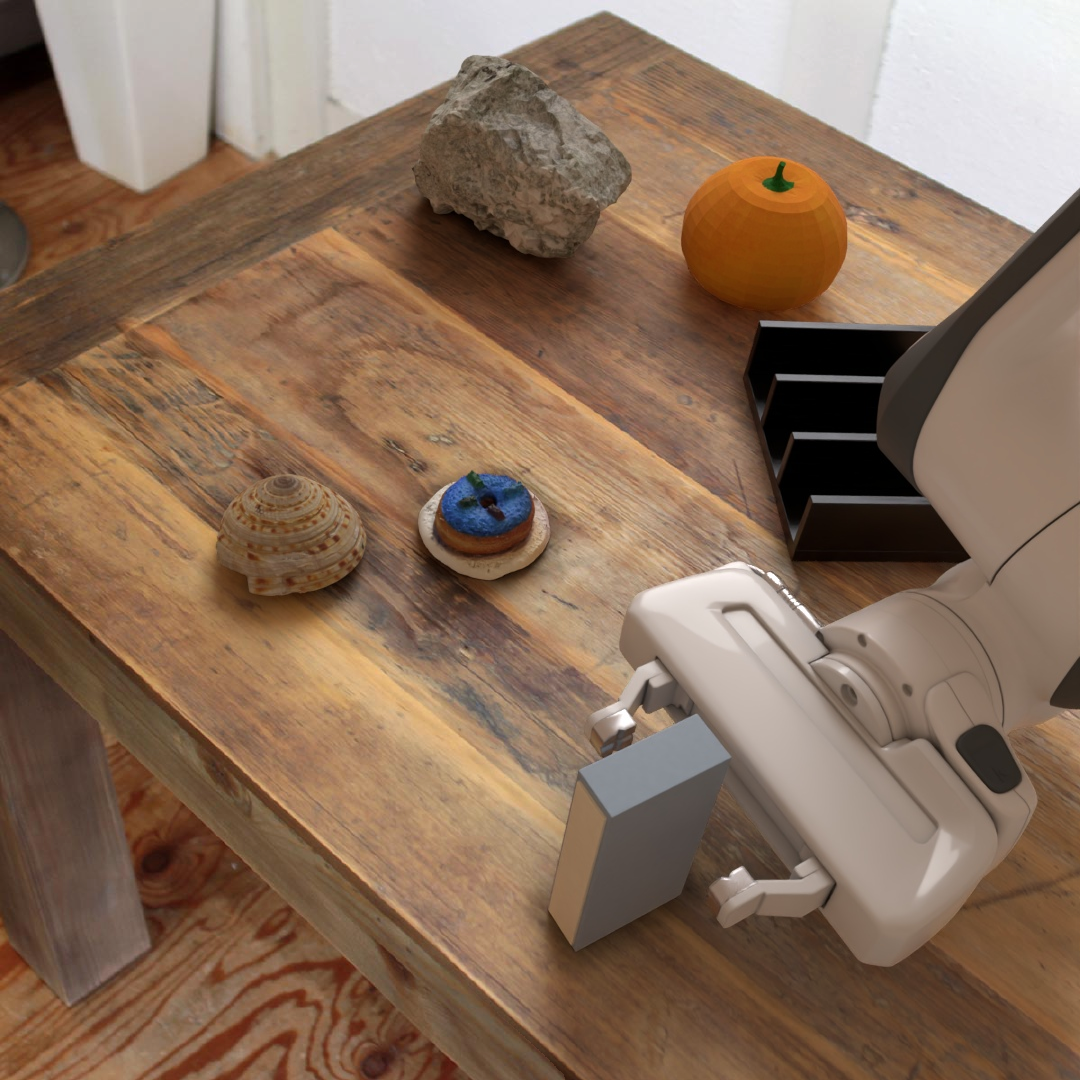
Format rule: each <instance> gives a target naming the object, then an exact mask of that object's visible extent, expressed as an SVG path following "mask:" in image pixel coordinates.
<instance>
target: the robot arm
mask: <svg viewBox="0 0 1080 1080" xmlns="http://www.w3.org/2000/svg"><path fill="white" fill-rule="evenodd" d="M935 326H936V327H935V328H933V329H932V330H931V331H929V332H928V333H927V334H925V335H924V336H923V337H921V338H920V339H919V340H918V341H917V342H916V343H915V344H914V345H912V346H911V347H910V348H909V349H908V350H907V351H906V352H905V353H904V354H903V355H902V356H901V357H900V358H899V359H898V360H897V361H896V362H895V363H894V365H893V366H892V367H891V368H890V369H889V371H888V372H887V374H886V376H885V378H884V382H883V385H882V389H881V394H880V399H879V405H878V415H877V444H878V447H879V449H880V450H881V451H882V452H883V453H884V454H885V456H886V457H887V458H888V459H889V460H890V461H891V462H892V463H893V465H894V466H895V467H896V468H897V469H898V470H899V471H900V472H901V473H902V475H903V476H904V477H905V478H906V479H907V480H908V481H909V482H910V483H911V485H912V486H913V487H914V488H915V489H916V490H917V491H918V492H919V493H920V494H921V495H922V496H924V497H926V499H927V500H928V501H929V502H930V504H931V505H932V506H933V508H934V509H935V510H936V512H937V513H938V514H939V516H940V517H941V518H942V520H943V521H944V522H945V524H946V525H947V526H948V528H949V529H950V530H951V532H952V533H953V534H954V536H955V537H956V538H957V540H958V541H959V542H960V544H961V545H962V546H963V547H964V549H965V550H966V551H967V553H968V554H969V555H970V557H971V559H969V560H966V561H964V562H962V563H957V564H955V565H954V566H952V567H950V568H949V569H947V570H946V571H945V572H944V573H942V574H941V575H940V576H939V577H938V578H937V579H936V580H935V581H934V583H932V584H931V585H929V586H927V587H918V588H909V589H904V590H901V591H898V592H896V593H893V594H891V595H889V596H887V597H884V598H883V599H882V598H881V599H880V600H878V601H876V602H873V603H872V604H869V605H867V606H865V607H863V608H861V609H859V610H857V611H855V612H852V613H849V614H848V615H846V616H843V617H842V618H839V619H837V620H835V621H833V622H830V623H829V624H827V625H824V624H823V623H822V621H821V620H820V619H819V618H818V616H816V614H815V613H814V612H812V610H811V609H810V608H808V607H807V605H805V603H803V602H802V601H801V600H800V599H799V598H797V597H796V595H795V594H794V593H793V592H792V591H791V590H790V586H788V584H787V583H786V582H785V580H784V579H783V578H782V577H781V576H780V575H778V574H777V573H776V572H774V571H772V570H768V571H764V570H763V569H762V568H759V567H757V566H755V565H753V564H748V563H746V562H744V561H743V560H736V561H731V562H728V563H726V564H723V565H721V566H718V567H716V568H714V569H712V570H709V571H704V572H700V573H695V574H692V575H688V576H684V577H681V578H677V579H674V580H671V581H667V582H665V583H664V582H663V583H661V584H657V585H655V586H652V587H649V588H647V589H644V590H642V591H640V592H638V593H636V595H635V596H633V597H632V599H631V601H630V602H629V604H628V606H627V608H626V611H625V614H624V617H623V621H622V625H621V631H620V636H619V640H618V641H619V642H618V649H619V652H620V654H621V655H622V657H623V658H624V660H625V661H626V662H627V663H628V664H629V666H630V668H632V669H633V671H634V672H633V674H632V676H631V678H630V679H629V681H628V682H627V684H626V686H625V688H624V689H623V690H622V692H621V693H620V695H619V697H618V699H617V701H616V702H614V703H612V704H609V705H607V706H605V707H603V708H601V709H598V710H597V711H594V712H593V713H592V714H591V715H589V716H588V717H587V718H586V720H585V725H584V729H583V735H584V736H585V738H586V739H587V741H588V742H589V743H590V744H591V746H592V748H594V750H595V751H596V753H597V754H598V756H599V757H600V758H601V759H603V758H605V757H607V756H609V755H611V754H613V753H614V752H617V751H620V750H622V749H624V748H626V747H628V746H630V745H632V744H633V740H634V735H633V734H634V733H635V732H636V730H637V729H636V728H637V722H636V721H635V720H634V718H633V717H634V715H635V714H636V712H638V709H639V708H640V706H641V709H642V710H643V712H644V713H645V714H648V715H650V714H652V713H655V712H657V711H659V710H661V709H663V710H664V711H665V712H666V713H667V715H668V716H669V718H670V719H671V720H672V722H673V723H674V724H676V723H678V722H680V721H682V720H684V719H686V718H688V717H691V716H693V715H695V714H698V715H699V716H700V718H701V719H702V720H703V721H704V723H705V724H706V725H707V727H708V728H709V729H710V730H711V732H712V733H713V734H714V735H715V737H716V738H717V739H718V740H719V742H720V743H721V744H722V746H723V747H724V748H725V749H726V751H727V752H728V753H729V754H730V756H731V757H732V759H731V762H730V764H729V767H728V770H727V772H726V775H725V778H724V780H723V783H722V786H723V787H724V789H725V790H726V791H727V793H728V794H729V795H730V796H731V798H732V799H733V800H734V802H735V803H736V804H737V805H738V807H739V808H740V809H741V811H742V812H743V813H744V815H745V816H746V817H747V818H748V820H749V821H750V822H751V823H752V825H753V826H754V828H755V829H756V831H758V832H759V834H760V835H761V836H762V838H763V839H764V841H765V842H766V843H767V844H768V846H769V847H770V848H771V850H773V852H774V854H776V856H777V858H778V859H779V861H781V863H783V865H784V867H786V869H787V870H788V871H789V873H790V876H789V878H788V879H755V878H754V877H753V876H752V875H751V874H750V872H749V871H748V870H747V869H746V867H745V866H744V865H741V866H739V867H738V868H736V869H733V870H732V871H730V872H729V875H728V876H720V877H719V878H717V879H716V880H714V881H713V882H712V883H711V884H710V885H709V886H708V887H707V889H706V893H707V894H706V895H704V897H703V901H704V902H705V904H706V905H707V907H708V908H709V910H710V911H711V912H712V914H713V915H714V917H715V919H716V920H717V921H718V923H719V925H720V926H721V927H722V928H723V929H728V928H730V927H732V926H734V925H735V924H738V923H739V922H741V921H743V920H744V919H747V918H749V917H750V916H751V915H754V914H756V916H766V917H767V916H768V917H783V918H803V917H805V916H806V915H808V914H810V913H811V912H813V911H815V910H817V909H818V911H819V912H821V915H823V917H824V918H825V919H826V921H827V922H828V924H829V925H830V926H831V927H832V928H833V930H834V931H835V932H836V933H837V935H838V936H839V937H840V939H841V940H842V941H843V942H844V945H846V946H847V948H848V949H849V950H850V952H851V953H852V955H853V956H854V957H855V958H856V959H857V961H858V962H860V963H862V964H866V965H870V966H876V967H884V968H885V967H886V968H891V967H893V966H895V965H896V964H898V963H900V962H902V961H904V960H905V959H907V958H908V957H909V956H910V955H912V954H914V953H915V952H916V951H918V950H919V949H920V948H921V947H922V946H924V945H925V944H927V942H929V941H930V940H931V939H932V938H934V936H936V935H937V934H938V933H939V932H940V931H941V930H942V929H944V927H946V926H947V924H948V923H949V922H950V921H952V920H953V918H955V916H956V915H957V913H958V912H959V911H960V910H961V908H962V907H963V906H964V904H965V903H966V902H967V900H969V898H970V897H971V895H972V894H973V892H974V891H975V890H976V888H977V886H978V885H979V883H980V882H981V881H982V879H983V878H985V877H986V876H987V875H989V874H990V873H991V872H993V870H995V869H996V868H997V867H998V866H999V865H1000V864H1001V863H1002V862H1003V861H1004V860H1005V858H1007V856H1008V855H1009V854H1010V853H1011V852H1012V850H1013V849H1014V847H1015V846H1016V845H1017V843H1018V842H1019V841H1020V839H1021V838H1022V836H1023V834H1024V832H1025V830H1026V829H1027V827H1028V825H1029V823H1030V821H1031V819H1032V818H1033V815H1034V812H1035V810H1036V808H1037V805H1038V800H1039V799H1038V794H1037V792H1036V789H1035V787H1034V785H1033V783H1032V781H1031V779H1030V777H1029V776H1028V774H1027V772H1026V770H1025V768H1024V766H1023V764H1022V763H1021V761H1020V759H1019V757H1018V756H1017V753H1016V752H1015V750H1014V748H1013V746H1012V744H1011V742H1010V740H1009V738H1008V735H1009V734H1010V733H1011V732H1013V731H1015V730H1020V729H1026V728H1031V727H1036V726H1038V725H1039V726H1040V725H1042V724H1044V723H1046V722H1048V721H1050V720H1052V719H1053V718H1056V717H1057V716H1059V715H1060V714H1063V713H1065V712H1066V711H1068V710H1080V187H1079V188H1078V189H1077V190H1076V191H1075V192H1074V193H1072V194H1071V196H1069V197H1068V199H1066V201H1065V202H1064V203H1063V204H1062V205H1061V206H1059V208H1058V209H1057V210H1056V211H1055V212H1054V213H1053V214H1052V215H1051V216H1050V217H1048V219H1046V221H1044V222H1043V224H1042V225H1041V226H1040V227H1038V229H1037V230H1035V232H1034V233H1033V234H1032V235H1031V236H1030V237H1029V238H1028V239H1027V240H1026V241H1025V242H1023V244H1022V245H1021V246H1020V247H1018V249H1017V250H1016V251H1015V252H1014V253H1013V254H1012V255H1011V256H1010V257H1009V258H1008V259H1007V260H1006V261H1005V262H1004V263H1003V264H1002V265H1001V266H1000V268H998V270H996V272H994V273H993V275H991V277H989V279H987V281H985V283H983V284H982V285H981V286H980V288H978V289H977V290H976V292H974V294H972V295H971V296H970V297H969V298H968V299H967V300H966V301H965V302H963V304H961V305H960V306H959V307H957V308H956V309H955V310H954V311H953V312H952V313H950V314H949V315H948V316H947V317H946V318H944V319H943V320H941V322H939V323H938V324H937V325H935Z"/></svg>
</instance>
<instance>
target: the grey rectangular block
mask: <svg viewBox="0 0 1080 1080" xmlns="http://www.w3.org/2000/svg"><path fill="white" fill-rule="evenodd" d="M731 759H732V757H731V756H730V754H729V753H728V752H727V751H726V749H725V748H724V747H723V746H722V744H721V743H720V742H719V740H718V739H717V738H716V737H715V735H714V734H713V733H712V732H711V730H710V729H709V728H708V727H707V725H706V724H705V723H704V721H703V720H702V719H701V718H700V716H699V715H698V714H695V715H693V716H691V717H688V718H686V719H684V720H682V721H680V722H678V723H676V724H675V723H674V724H672V725H669V726H668V727H666V728H663V729H661V730H659V731H658V732H655V733H653V734H651V735H649V736H647V737H645V738H643V739H640V740H638V741H636V742H634V743H632V744H631V745H630V746H628V747H626V748H624V749H622V750H620V751H614V752H613V753H612V754H611V755H609V756H607V757H605V758H601V759H598V760H596V761H594V762H593V763H590V764H588V765H586V766H584V767H582V768H580V769H578V770H577V774H576V779H575V782H574V788H573V792H572V795H571V801H570V806H569V811H568V814H567V820H566V824H565V827H564V832H563V838H562V841H561V846H560V851H559V855H558V860H557V863H556V868H555V873H554V878H553V882H552V886H551V891H550V896H549V900H548V904H547V910H548V912H549V913H550V915H551V917H552V918H553V920H554V921H555V923H556V925H557V926H558V927H559V929H560V931H561V932H562V934H563V936H564V937H565V938H566V940H567V942H568V943H569V945H570V946H571V947H572V950H574V952H578V951H580V950H583V949H584V948H586V947H588V946H590V945H592V944H594V943H595V942H597V941H599V940H601V939H603V938H605V937H606V936H608V935H610V934H612V933H613V932H615V931H617V930H619V929H621V928H622V927H624V926H626V925H628V924H630V923H633V921H636V920H637V919H639V918H641V917H643V916H645V915H646V914H648V913H651V912H652V911H654V910H656V909H658V908H660V907H661V906H663V905H665V904H666V903H668V902H670V901H672V900H674V899H677V898H678V897H679V896H680V897H681V895H682V892H683V889H684V887H685V884H686V882H687V879H688V876H689V874H690V872H691V871H690V870H691V868H692V865H693V863H694V860H695V858H696V855H697V852H698V849H699V847H700V844H701V842H702V839H703V837H704V833H705V831H706V828H707V826H708V823H709V821H710V817H711V815H712V812H713V810H714V807H715V804H716V802H717V799H718V797H719V794H720V791H721V789H722V786H723V785H722V783H723V780H724V778H725V775H726V772H727V770H728V767H729V764H730V762H731Z"/></svg>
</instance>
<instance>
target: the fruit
mask: <svg viewBox="0 0 1080 1080" xmlns="http://www.w3.org/2000/svg"><path fill="white" fill-rule="evenodd" d="M847 221H848V220H847V218H846V213H845V211H844V209H843V207H842V205H841V203H840V201H839V199H838V198H837V196H836V193H835V192H834V191H833V188H831V186H830V185H829V184H828V183H827V181H825V180H824V179H823V178H822V177H821V176H820V175H819V174H818V173H817V172H816V171H814V170H813V169H811V168H810V167H808V166H806V165H804V164H802V163H800V162H797V161H795V160H791V159H789V158H784V157H778V156H772V155H769V156H768V155H764V156H763V155H761V156H759V155H758V156H752V157H748V158H743V159H741V160H737V161H734V162H732V163H730V164H729V165H727V166H726V167H723V168H721V169H720V170H718V171H716V172H714V173H713V174H712V175H711V176H709V177H707V178H706V179H705V180H704V182H703V183H702V184H701V185H700V186H699V188H698V189H697V190H696V191H695V193H694V194H693V195H692V197H691V198H690V200H689V202H688V204H687V205H686V208H685V211H684V214H683V219H682V227H681V235H680V247H681V252H682V255H683V257H684V260H685V263H686V265H687V267H688V270H689V272H690V274H691V275H692V277H693V278H694V279H695V280H696V282H698V283H699V284H700V285H701V287H702V288H703V289H704V291H706V292H708V293H709V294H711V295H712V296H714V297H715V298H717V299H719V300H720V301H722V302H725V303H726V304H730V305H732V306H735V307H737V308H741V309H744V310H748V311H749V310H750V311H757V312H762V313H770V312H771V313H772V312H773V313H774V312H786V311H788V310H793V309H797V308H800V307H802V306H806V305H807V304H809V303H811V302H812V301H813V300H815V299H817V298H818V297H820V296H821V295H822V294H824V293H825V292H826V291H827V290H828V289H829V288H830V286H831V285H832V284H833V282H834V281H835V279H836V277H837V276H838V274H839V272H840V271H841V269H842V267H843V264H844V262H845V260H846V256H847V253H848V222H847Z"/></svg>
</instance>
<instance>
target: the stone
mask: <svg viewBox="0 0 1080 1080" xmlns="http://www.w3.org/2000/svg"><path fill="white" fill-rule="evenodd" d="M419 139H420V140H419V144H418V147H419V149H420V150H419V151H418V153H419V157H418V159H417V160H416V163H415V164H414V166H413V167H412V168H411V171H412V172H413V175H414V182H415V185H416V187H417V191H418V193H419V194H420V195H421V196H422V197H424V198H426V199H428V200H429V202H430V206H431V207H432V211H433V213H435V214H437V215H445V214H446V215H447V214H450V213H451V212H453V211H454V212H455V213H456V214H458V215H461V214H462V215H464V216H465V217H466V218H468V219H470V220H472V221H473V224H474V226H475V227H476V229H478V230H479V231H484V230H487V231H488V232H489V233H490V234H492V235H493V236H496V237H500V238H502V239H505V240H507V241H509V244H510V246H511V247H513V248H514V249H515V250H517V252H518V251H519V252H520V253H522V254H524V255H528V254H529V255H532V256H534V257H538V258H546V259H550V258H551V259H552V258H573V257H574V256H575V253H576V250H577V249H578V248H579V246H580V245H581V244H584V243H586V242H587V241H588V240H589V239H590V238H591V236H592V235H593V234H594V232H595V229H596V226H597V224H598V220H599V219H600V218H601V212H603V211H604V210H606V209H608V208H609V206H611V205H614V204H617V202H618V199H619V198H620V197H621V196H622V195H623V194H624V193H625V192H626V191H627V188H629V186H630V185H631V184H630V183H631V182H632V180H633V179H632V178H633V173H632V172H633V171H632V165H631V163H630V162H629V161H628V160H627V158H626V157H625V155H624V153H623V152H622V151H621V150H620V149H618V147H616V145H615V144H614V143H613V142H612V141H611V140H610V138H609V137H608V136H607V134H605V132H604V131H603V130H602V129H601V128H600V127H599V126H598V125H597V124H595V123H594V122H593V121H591V120H590V119H588V117H586V116H585V115H583V114H582V113H581V112H580V111H579V110H578V109H577V108H575V106H574V105H573V104H572V103H571V102H570V101H569V100H568V99H566V98H564V97H562V96H560V95H559V94H558V93H557V92H556V91H555V90H553V89H551V87H550V86H548V84H547V83H546V82H545V81H544V80H543V79H542V78H541V76H540V75H538V74H536V73H535V72H534V71H532V70H531V69H529V68H527V67H526V66H524V65H521V64H519V63H518V62H512V61H510V60H507V59H506V58H503V57H500V56H494V55H481V54H472V55H470V56H468V57H466V58H465V59H464V60H463V61H462V62H461V65H460V69H459V70H458V73H457V74H456V76H455V78H454V80H453V82H452V83H451V84H450V87H449V89H448V91H447V93H446V95H445V99H444V101H443V103H442V104H441V105H440V106H438V107H437V108H436V109H435V110H434V111H433V112H432V114H431V116H430V119H429V122H428V124H427V126H426V128H425V130H424V132H423V133H422V134H420V138H419Z"/></svg>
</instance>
